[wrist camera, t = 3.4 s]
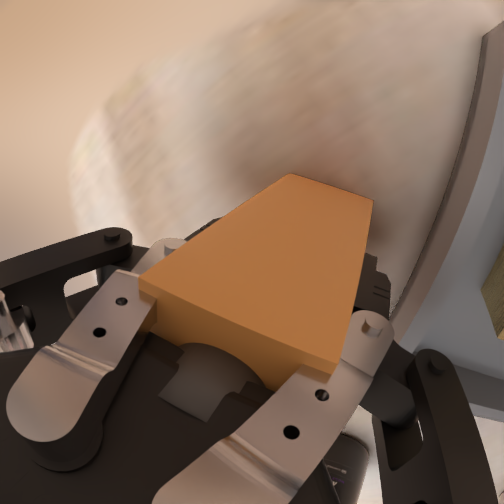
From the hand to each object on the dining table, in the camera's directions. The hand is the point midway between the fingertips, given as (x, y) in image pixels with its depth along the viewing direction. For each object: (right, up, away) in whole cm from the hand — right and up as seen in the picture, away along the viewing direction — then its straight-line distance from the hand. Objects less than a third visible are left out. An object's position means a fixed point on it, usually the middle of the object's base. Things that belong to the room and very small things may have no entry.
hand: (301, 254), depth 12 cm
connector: (+1, +1, +3) cm, 3 cm away
